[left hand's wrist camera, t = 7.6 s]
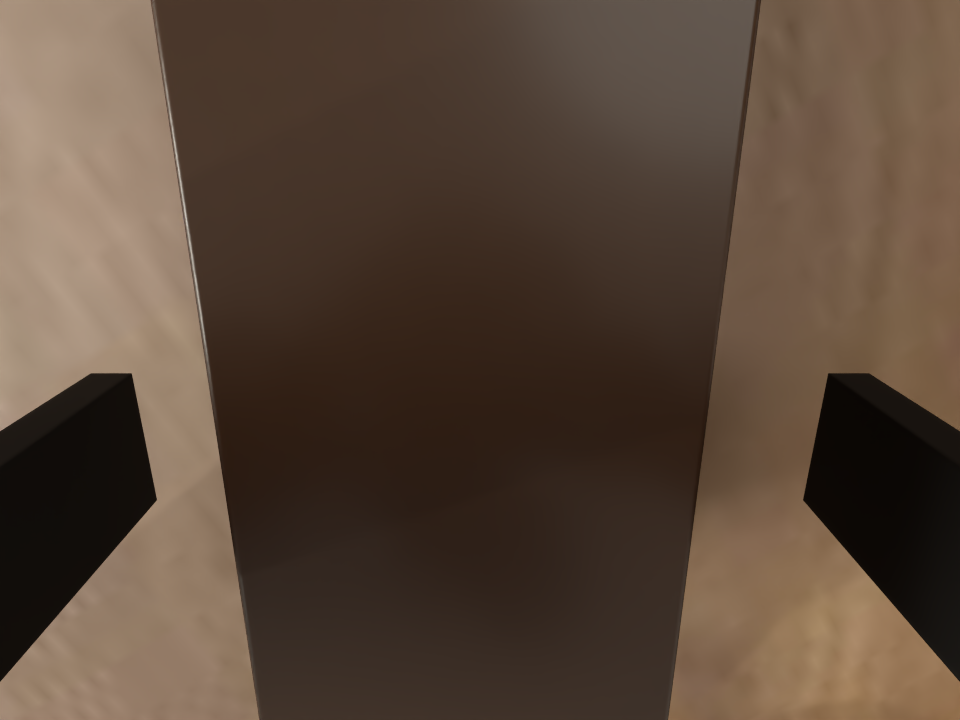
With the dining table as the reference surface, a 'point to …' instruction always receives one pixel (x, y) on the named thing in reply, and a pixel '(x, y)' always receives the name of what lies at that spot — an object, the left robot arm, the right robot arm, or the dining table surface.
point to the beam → (459, 336)
